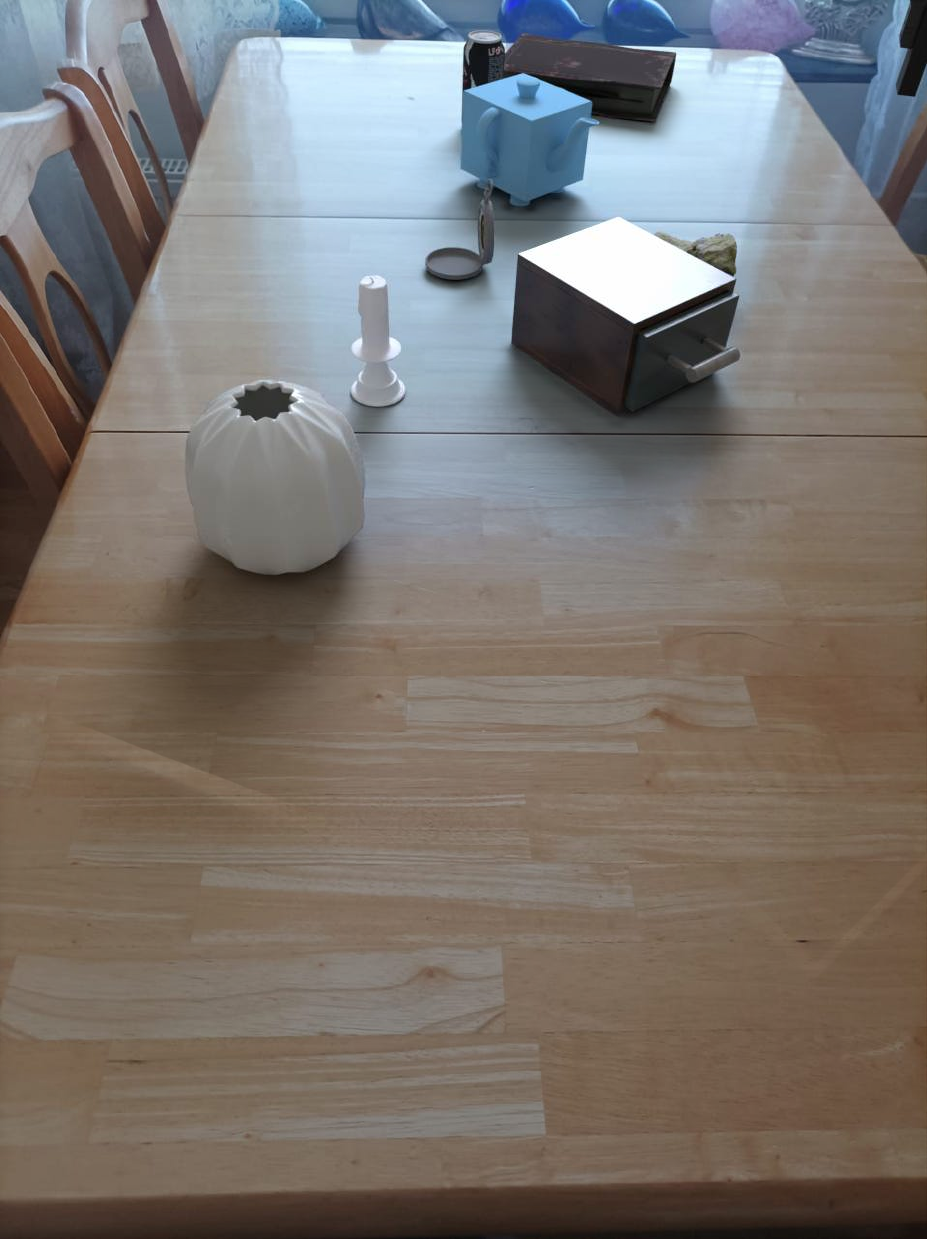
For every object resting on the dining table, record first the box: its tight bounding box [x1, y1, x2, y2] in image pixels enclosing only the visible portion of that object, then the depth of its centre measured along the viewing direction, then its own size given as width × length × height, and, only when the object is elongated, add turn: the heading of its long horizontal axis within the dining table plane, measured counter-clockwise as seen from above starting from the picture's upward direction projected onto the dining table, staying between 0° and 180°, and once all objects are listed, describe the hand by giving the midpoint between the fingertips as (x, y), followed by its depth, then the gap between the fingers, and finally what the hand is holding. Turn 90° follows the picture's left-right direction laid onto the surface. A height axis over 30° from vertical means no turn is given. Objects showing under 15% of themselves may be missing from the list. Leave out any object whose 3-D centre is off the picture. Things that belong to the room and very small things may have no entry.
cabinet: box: [510, 216, 737, 417], centre depth 93 cm, size 16×14×10 cm
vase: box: [184, 378, 367, 576], centre depth 72 cm, size 14×14×13 cm
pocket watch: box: [424, 179, 496, 281], centre depth 104 cm, size 8×8×10 cm
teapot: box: [460, 73, 600, 207], centre depth 117 cm, size 18×16×13 cm
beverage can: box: [461, 29, 506, 123], centre depth 131 cm, size 6×6×12 cm
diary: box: [504, 32, 677, 122], centre depth 145 cm, size 19×25×5 cm
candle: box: [350, 274, 407, 408], centre depth 87 cm, size 5×5×12 cm
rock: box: [653, 231, 738, 278], centre depth 106 cm, size 11×6×10 cm
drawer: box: [624, 291, 741, 412], centre depth 91 cm, size 18×13×8 cm
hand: (905, 90), depth 82 cm, fingers closed
